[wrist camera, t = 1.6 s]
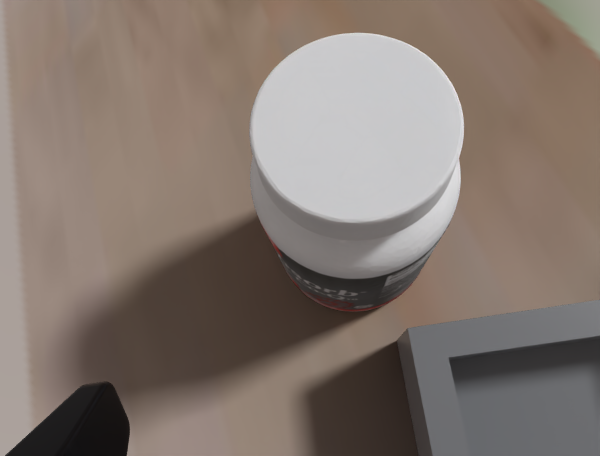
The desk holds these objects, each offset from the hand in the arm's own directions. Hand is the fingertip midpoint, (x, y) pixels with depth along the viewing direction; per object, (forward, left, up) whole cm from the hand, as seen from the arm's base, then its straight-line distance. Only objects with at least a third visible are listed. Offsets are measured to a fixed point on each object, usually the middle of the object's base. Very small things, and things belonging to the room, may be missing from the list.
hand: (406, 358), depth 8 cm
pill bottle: (+5, 0, -12) cm, 13 cm away
